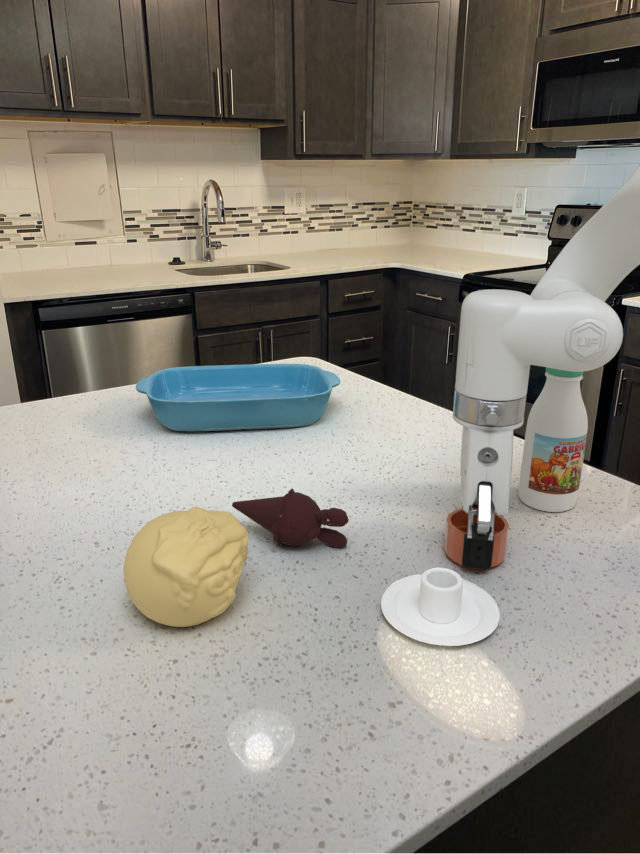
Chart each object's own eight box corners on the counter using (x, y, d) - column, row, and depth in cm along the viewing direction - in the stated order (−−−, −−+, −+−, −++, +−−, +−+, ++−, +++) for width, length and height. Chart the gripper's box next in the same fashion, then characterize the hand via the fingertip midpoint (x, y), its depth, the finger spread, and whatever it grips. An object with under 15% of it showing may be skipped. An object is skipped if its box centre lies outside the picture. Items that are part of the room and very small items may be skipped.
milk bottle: (506, 499, 92) (522, 359, 85) (536, 483, 97) (554, 349, 89) (557, 519, 86) (578, 372, 79) (586, 501, 91) (609, 360, 84)
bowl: (496, 539, 82) (500, 507, 80) (511, 571, 75) (516, 537, 74) (439, 539, 82) (442, 507, 80) (450, 571, 75) (453, 537, 74)
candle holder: (384, 574, 75) (385, 541, 73) (493, 584, 73) (497, 550, 71) (376, 645, 64) (378, 607, 62) (505, 658, 62) (509, 619, 60)
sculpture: (199, 658, 62) (191, 558, 58) (105, 618, 67) (92, 525, 63) (267, 594, 71) (264, 505, 67) (180, 564, 77) (173, 479, 73)
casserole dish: (328, 391, 136) (328, 358, 134) (350, 431, 116) (351, 392, 113) (144, 401, 131) (141, 366, 128) (133, 443, 110) (129, 403, 108)
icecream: (216, 502, 77) (339, 532, 73) (242, 464, 83) (357, 490, 79) (221, 544, 81) (338, 574, 78) (246, 504, 87) (355, 531, 83)
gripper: (534, 438, 63) (514, 595, 70) (516, 384, 79) (501, 516, 86) (454, 433, 64) (442, 587, 71) (452, 381, 80) (442, 511, 87)
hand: (474, 547), depth 78 cm, fingers closed on bowl, 7 cm apart
